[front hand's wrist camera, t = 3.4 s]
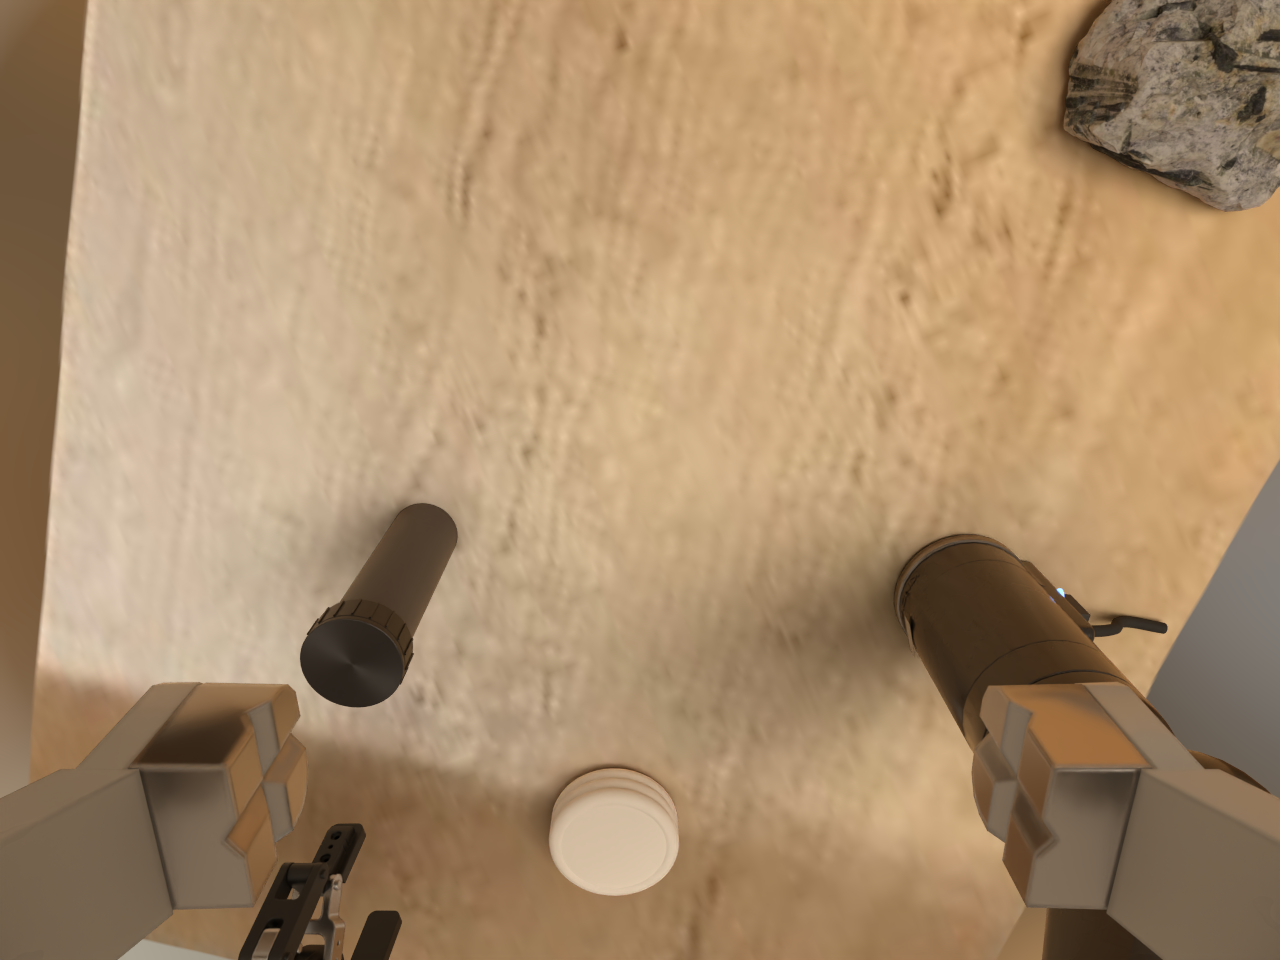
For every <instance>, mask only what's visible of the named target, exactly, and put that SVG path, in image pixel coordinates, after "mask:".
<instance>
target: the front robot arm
mask: <svg viewBox="0 0 1280 960" xmlns="http://www.w3.org/2000/svg"><path fill="white" fill-rule="evenodd" d="M299 717H300V711H299V706H298V701H297V696H296V692H295V691H294V690H293V689H292V688H291V687H290V686H289V685H288V684H246V683H204V684H203V683H200V682H177V683H161V684H157V685H153V686H152V687H151V688H150V689H149V690H148V691H147V692H146V693H145V694H144V695H143V696H142V697H141V698H140V700H139V701H138V702H137V703H136V704H135V705H134V706H133V707H132V708H131V709H130V710H129V711H128V713H127V714H126V715H125V716H124V717H123V718H122V719H121V720H120V721H119V722H118V723H117V724H116V726H115V727H114V728H113V729H112V730H111V731H110V732H109V733H108V734H107V735H106V736H105V737H104V739H103V740H102V741H101V742H100V743H99V744H98V745H97V746H96V747H95V748H94V749H93V750H92V752H91V753H90V754H89V755H88V756H87V757H86V758H85V759H84V760H83V761H82V762H81V763H80V764H79V766H78V767H77V768H76V769H60V770H58V771H56V772H54V773H52V774H50V775H48V776H46V777H44V778H42V779H40V780H38V781H35V782H33V783H31V784H29V785H27V786H25V787H23V788H21V789H19V790H17V791H15V792H13V793H11V794H9V795H6V796H4V797H2V798H0V960H118V959H119V958H120V957H121V956H123V955H124V954H125V953H126V952H127V951H129V950H130V949H131V948H132V947H134V946H135V945H136V944H137V943H138V942H140V941H141V940H142V939H143V938H144V937H146V936H147V935H148V934H149V933H151V932H152V931H153V930H154V929H155V928H157V927H158V926H159V925H160V924H162V923H163V922H164V921H165V920H166V919H168V918H169V917H170V916H171V915H172V914H173V910H176V909H211V908H245V907H254V905H255V903H256V901H257V899H258V897H259V895H260V893H261V891H262V889H263V888H264V886H265V884H266V882H267V880H268V878H269V876H270V874H271V872H272V870H273V868H274V866H275V864H276V862H277V861H278V859H277V853H276V847H275V842H277V841H278V840H280V839H281V838H283V837H284V836H286V835H287V834H288V833H290V832H291V831H293V829H294V827H295V825H296V823H297V821H298V819H299V817H300V815H301V813H302V810H303V805H304V801H305V796H306V792H307V787H308V762H307V755H306V748H305V747H304V746H303V745H302V744H301V743H300V742H299V741H298V740H297V739H296V738H295V737H294V736H293V735H292V734H291V731H292V729H293V728H294V726H295V724H296V723H297V721H298V719H299ZM980 717H981V719H982V721H983V723H984V724H985V726H986V728H987V729H988V731H989V734H988V735H987V736H986V737H985V738H984V739H983V740H982V741H981V742H980V743H979V744H978V745H977V746H976V747H975V748H974V756H973V764H972V783H973V793H974V799H975V802H976V805H977V809H978V812H979V815H980V817H981V819H982V821H983V823H984V825H985V827H986V829H987V831H989V832H990V833H992V834H993V835H994V836H996V837H997V838H999V839H1000V840H1002V841H1003V842H1005V847H1004V853H1003V859H1002V861H1003V863H1004V864H1005V866H1006V868H1007V870H1008V872H1009V874H1010V876H1011V878H1012V880H1013V882H1014V884H1015V886H1016V887H1017V889H1018V891H1019V893H1020V895H1021V897H1022V899H1023V901H1024V903H1025V905H1026V907H1032V908H1068V909H1103V910H1107V914H1108V915H1109V916H1110V917H1112V918H1113V919H1114V920H1115V921H1116V922H1118V923H1119V924H1120V925H1121V926H1123V927H1124V928H1125V929H1126V930H1127V931H1129V932H1130V933H1131V934H1132V935H1133V936H1135V937H1136V938H1137V939H1138V940H1140V941H1141V942H1142V943H1143V944H1144V945H1146V946H1147V947H1148V948H1149V949H1150V950H1152V951H1153V952H1154V953H1155V954H1157V955H1158V956H1159V957H1160V958H1161V959H1163V960H1280V798H1278V797H1275V796H1273V795H1271V794H1269V793H1267V792H1265V791H1263V790H1261V789H1259V788H1257V787H1255V786H1253V785H1251V784H1249V783H1247V782H1244V781H1242V780H1240V779H1238V778H1236V777H1234V776H1232V775H1230V774H1228V773H1226V772H1224V771H1222V770H1220V769H1204V768H1203V767H1202V766H1201V765H1200V763H1199V762H1198V761H1197V760H1196V759H1195V758H1194V757H1193V756H1192V755H1191V754H1190V753H1189V752H1188V750H1187V749H1186V748H1185V747H1184V746H1183V745H1182V744H1181V743H1180V742H1179V741H1178V740H1177V739H1176V737H1175V736H1174V735H1173V734H1172V733H1171V732H1170V731H1169V730H1168V729H1167V728H1166V727H1165V725H1164V724H1163V723H1162V722H1161V721H1160V720H1159V719H1158V718H1157V717H1156V716H1155V715H1154V714H1153V712H1152V711H1151V710H1150V709H1149V708H1148V707H1147V706H1146V705H1145V704H1144V703H1143V702H1142V701H1141V699H1140V698H1139V697H1138V696H1137V695H1136V694H1135V693H1134V692H1133V691H1132V690H1131V689H1130V688H1129V687H1128V686H1126V685H1124V684H1121V683H1119V682H1098V683H1075V684H1047V685H998V686H988V688H987V690H986V692H985V694H984V696H983V699H982V705H981V711H980Z"/></svg>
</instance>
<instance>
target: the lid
mask: <svg viewBox="0 0 1280 960" xmlns="http://www.w3.org/2000/svg"><path fill="white" fill-rule="evenodd" d="M307 635H308V636H307V637H306V639H305V641H304V643H303V645H302V648H301V653H300V662H301V668H302V671H303V674H304V676H305V678H306V680H307V681H308V683H309V684H310V685H311V687H312V688H313V689H314V690H315V691H316V692H317V693H319V694H320V695H321V696H323V697H324V698H326V699H327V700H329V701H331V702H334V703H336V704H339V705H343V706H348V707H367V706H372V705H375V704H378V703H380V702H382V701H384V700H385V699H387V698H388V697H390V696H391V695H392V694H393V693H394V692H395V691H396V689H397V688H398V686H399V684H400V685H401V683H402V681H403V678H404V676H405V674H406V672H407V670H408V666H409V664H410V661H411V659H412V657H413V655H414V653H412V652H413V642H412V641H413V638H412V637H411V634H410V631H409V629H408V627H407V624H406V623H405V622H404V621H403V620H402V619H401V617H400V616H399V615H398V614H396V613H395V611H393V610H391V609H390V608H388V607H386V606H385V605H382V604H380V603H379V602H374V601H370V600H363V599H354V600H347V601H344V600H343V601H342V602H340V603H338V604H336V605H334V606H332V607H330V608H329V607H328V608H327V609H326V611H325V612H324V613H323V614H322V616H321V617H320V618H319V619H317V620H316V621H315V623H314V624H313V626H312V627H311V629H310V630H309V632H308V633H307Z"/></svg>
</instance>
